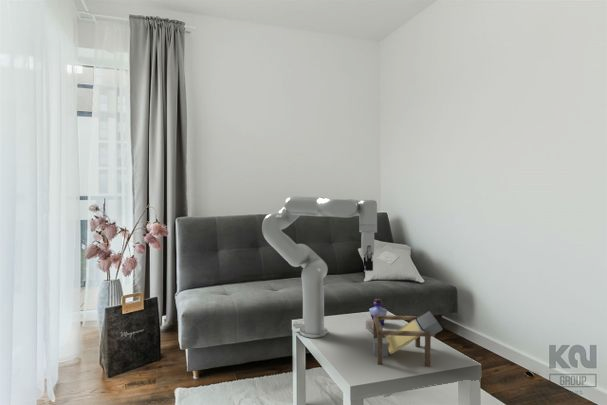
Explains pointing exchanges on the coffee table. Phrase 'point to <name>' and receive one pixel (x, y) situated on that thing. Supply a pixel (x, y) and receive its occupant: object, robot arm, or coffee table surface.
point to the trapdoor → (426, 323)
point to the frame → (379, 332)
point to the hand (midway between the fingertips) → (368, 268)
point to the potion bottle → (378, 310)
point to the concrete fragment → (370, 326)
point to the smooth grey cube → (384, 346)
